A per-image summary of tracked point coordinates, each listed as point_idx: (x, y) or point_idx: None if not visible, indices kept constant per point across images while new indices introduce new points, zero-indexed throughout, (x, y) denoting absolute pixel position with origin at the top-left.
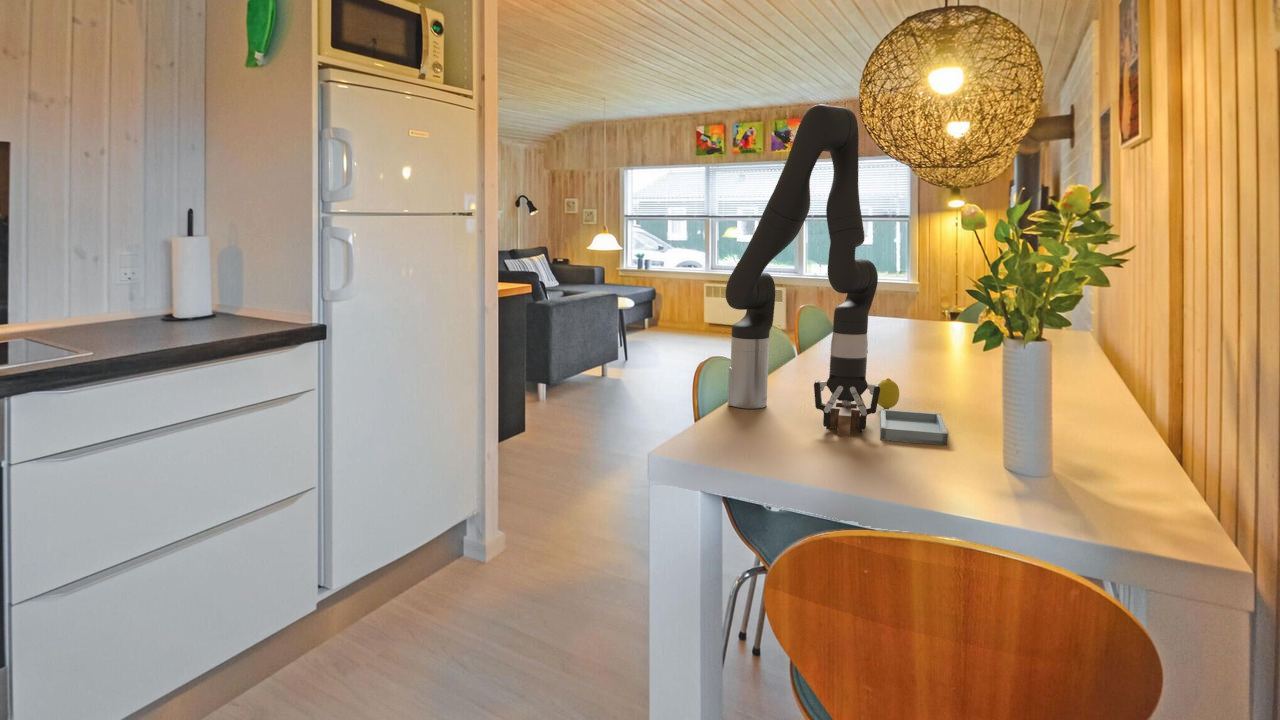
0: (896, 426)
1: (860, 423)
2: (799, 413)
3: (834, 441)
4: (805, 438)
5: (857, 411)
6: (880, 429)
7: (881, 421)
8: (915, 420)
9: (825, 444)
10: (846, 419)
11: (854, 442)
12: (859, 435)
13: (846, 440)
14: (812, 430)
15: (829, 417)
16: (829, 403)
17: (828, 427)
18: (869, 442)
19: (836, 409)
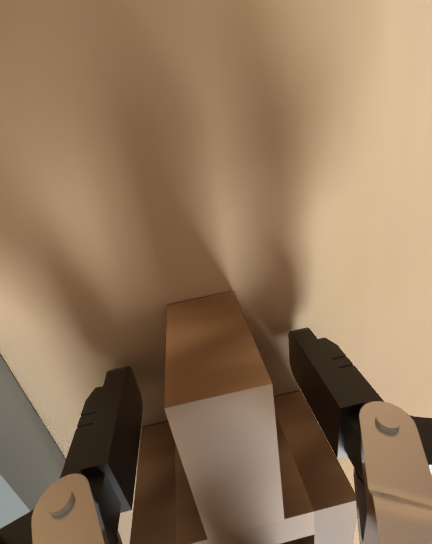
0: (2, 523)
1: (109, 408)
2: None
3: (225, 154)
4: (406, 133)
5: (168, 537)
6: (44, 455)
7: (25, 509)
8: None
9: (271, 26)
10: (197, 373)
11: (100, 198)
12: (127, 354)
13: (161, 220)
14: (364, 318)
15: (327, 380)
16: (417, 498)
17: (299, 333)
18: (16, 248)
19: (303, 505)
